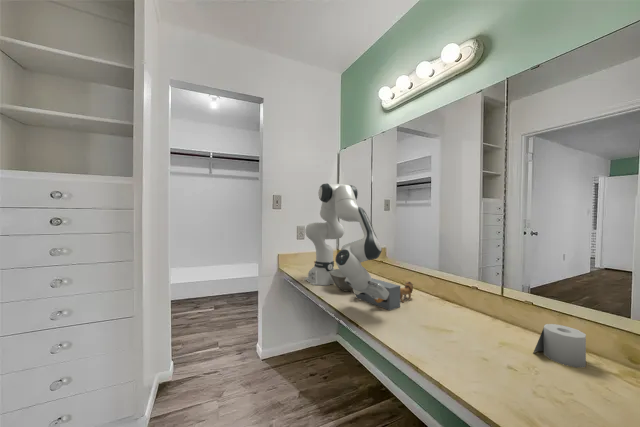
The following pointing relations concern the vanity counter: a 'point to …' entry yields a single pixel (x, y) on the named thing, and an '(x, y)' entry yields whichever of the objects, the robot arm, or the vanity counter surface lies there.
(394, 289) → the control box
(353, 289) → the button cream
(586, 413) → the vanity counter surface
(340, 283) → the ceramic bowl
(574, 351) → the toilet tissue
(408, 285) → the lion figurine
